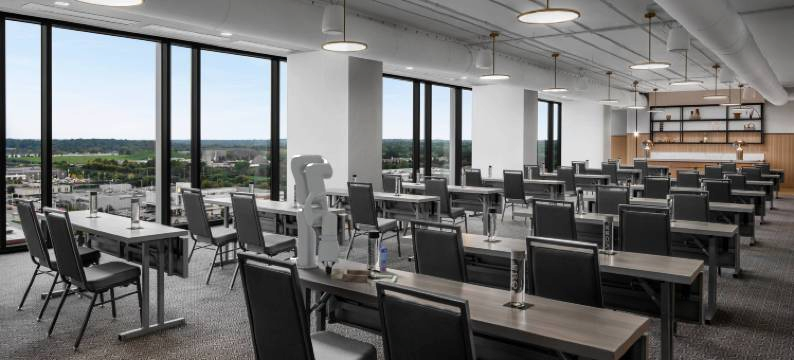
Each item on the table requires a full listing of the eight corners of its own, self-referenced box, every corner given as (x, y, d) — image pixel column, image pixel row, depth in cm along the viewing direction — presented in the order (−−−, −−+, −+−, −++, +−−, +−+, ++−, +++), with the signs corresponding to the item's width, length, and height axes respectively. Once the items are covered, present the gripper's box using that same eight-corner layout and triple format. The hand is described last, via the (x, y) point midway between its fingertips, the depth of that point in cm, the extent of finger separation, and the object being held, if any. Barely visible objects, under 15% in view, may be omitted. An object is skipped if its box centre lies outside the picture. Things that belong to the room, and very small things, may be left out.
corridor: (342, 280, 283) (342, 274, 283) (347, 275, 295) (347, 269, 294) (367, 282, 282) (367, 276, 281) (370, 276, 293) (370, 270, 293)
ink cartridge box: (387, 270, 307) (387, 243, 305) (380, 272, 302) (381, 245, 301) (372, 267, 312) (373, 241, 311) (366, 269, 308) (366, 242, 307)
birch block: (331, 278, 287) (331, 270, 287) (333, 276, 292) (333, 268, 292) (341, 279, 286) (341, 271, 286) (343, 276, 291) (343, 268, 291)
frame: (373, 282, 281) (373, 280, 281) (376, 276, 293) (376, 274, 293) (394, 283, 280) (394, 281, 280) (396, 277, 292) (396, 275, 292)
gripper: (312, 238, 285) (312, 275, 286) (342, 240, 283) (341, 277, 285) (316, 236, 293) (315, 271, 294) (345, 237, 291) (344, 273, 292)
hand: (328, 274), depth 289 cm, fingers closed
